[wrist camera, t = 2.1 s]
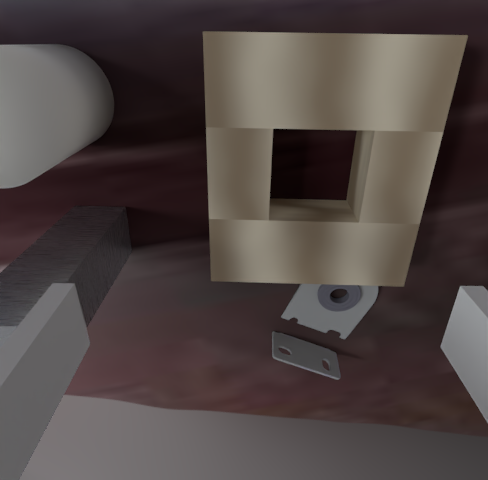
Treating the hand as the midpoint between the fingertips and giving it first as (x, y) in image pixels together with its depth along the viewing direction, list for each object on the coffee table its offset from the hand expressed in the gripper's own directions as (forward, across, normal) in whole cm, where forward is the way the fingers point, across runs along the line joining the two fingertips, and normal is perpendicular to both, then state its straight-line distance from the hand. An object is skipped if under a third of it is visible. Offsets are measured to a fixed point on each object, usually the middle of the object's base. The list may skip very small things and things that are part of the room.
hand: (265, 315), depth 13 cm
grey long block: (+17, -12, -5) cm, 21 cm away
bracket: (+17, +6, -13) cm, 22 cm away
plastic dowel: (+17, -13, +5) cm, 22 cm away
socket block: (+16, +4, +1) cm, 17 cm away
